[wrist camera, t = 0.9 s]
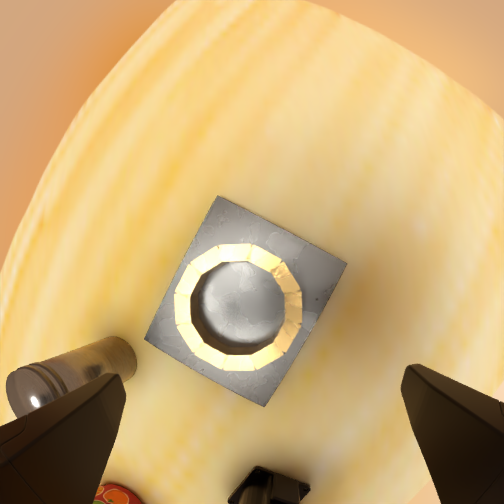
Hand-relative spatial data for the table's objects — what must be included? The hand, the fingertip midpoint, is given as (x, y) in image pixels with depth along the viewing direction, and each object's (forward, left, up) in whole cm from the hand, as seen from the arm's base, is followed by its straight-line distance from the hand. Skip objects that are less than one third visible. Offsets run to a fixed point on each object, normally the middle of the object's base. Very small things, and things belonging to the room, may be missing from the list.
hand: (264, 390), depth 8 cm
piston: (-12, +11, -17) cm, 23 cm away
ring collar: (-1, +3, -17) cm, 17 cm away
